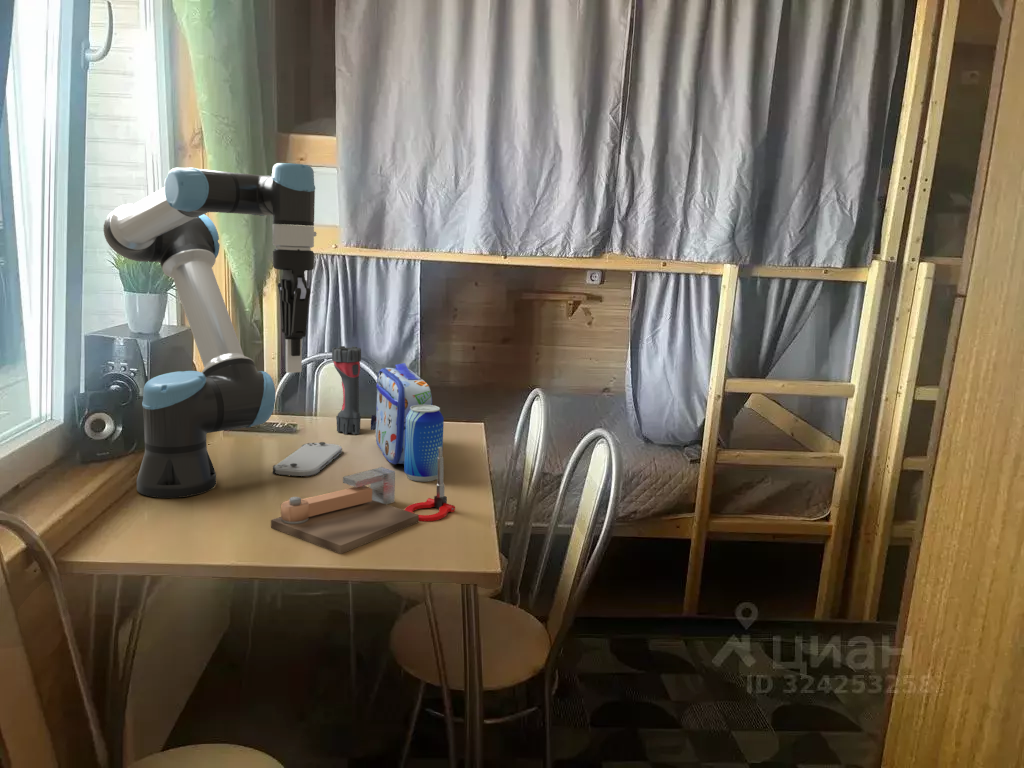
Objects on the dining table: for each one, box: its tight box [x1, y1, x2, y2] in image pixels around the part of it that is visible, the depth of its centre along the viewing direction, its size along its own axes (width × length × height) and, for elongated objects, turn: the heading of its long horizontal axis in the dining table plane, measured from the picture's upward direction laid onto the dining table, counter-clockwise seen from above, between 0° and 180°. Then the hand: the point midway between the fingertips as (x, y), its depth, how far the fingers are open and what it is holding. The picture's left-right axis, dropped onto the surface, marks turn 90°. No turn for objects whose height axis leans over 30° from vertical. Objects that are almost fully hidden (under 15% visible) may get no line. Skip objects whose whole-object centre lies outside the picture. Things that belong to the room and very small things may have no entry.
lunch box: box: [370, 362, 433, 465], centre depth 192 cm, size 28×10×22 cm, turn 22°
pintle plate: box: [270, 500, 420, 555], centre depth 147 cm, size 18×20×2 cm
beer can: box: [403, 404, 445, 483], centre depth 176 cm, size 8×8×16 cm
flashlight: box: [331, 345, 362, 435], centre depth 211 cm, size 8×8×23 cm
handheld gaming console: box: [272, 441, 343, 478], centre depth 184 cm, size 23×3×10 cm
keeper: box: [342, 466, 396, 505], centre depth 157 cm, size 10×4×6 cm, turn 141°
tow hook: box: [404, 447, 456, 522], centre depth 154 cm, size 8×13×9 cm
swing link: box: [280, 485, 372, 522], centre depth 149 cm, size 18×5×4 cm, turn 136°
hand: (293, 371), depth 153 cm, fingers closed
